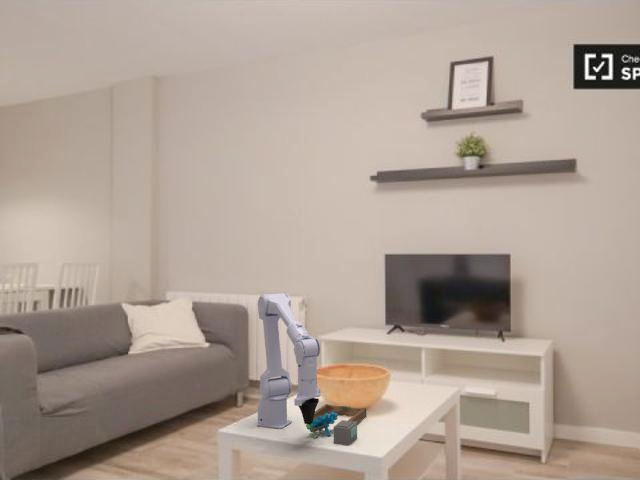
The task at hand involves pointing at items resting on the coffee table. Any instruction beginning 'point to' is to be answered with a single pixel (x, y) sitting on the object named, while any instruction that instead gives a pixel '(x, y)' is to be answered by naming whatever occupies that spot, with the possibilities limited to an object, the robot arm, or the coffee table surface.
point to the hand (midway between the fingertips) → (308, 423)
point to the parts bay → (342, 412)
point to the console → (345, 432)
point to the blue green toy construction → (322, 423)
